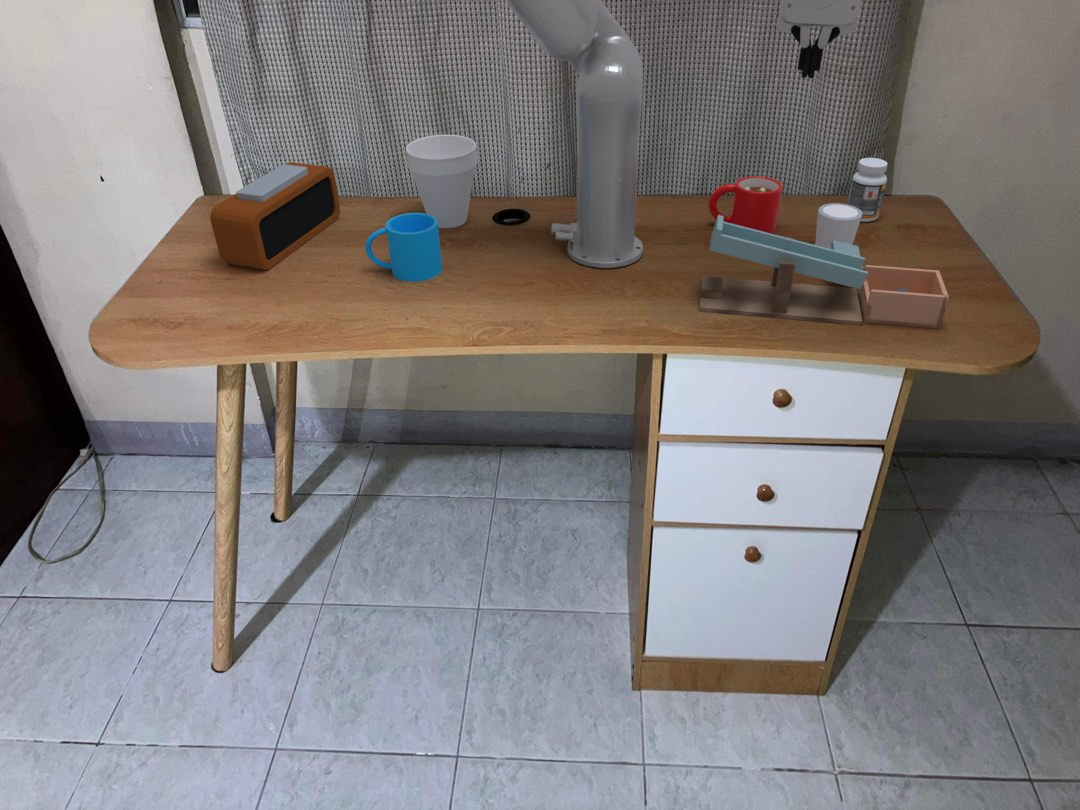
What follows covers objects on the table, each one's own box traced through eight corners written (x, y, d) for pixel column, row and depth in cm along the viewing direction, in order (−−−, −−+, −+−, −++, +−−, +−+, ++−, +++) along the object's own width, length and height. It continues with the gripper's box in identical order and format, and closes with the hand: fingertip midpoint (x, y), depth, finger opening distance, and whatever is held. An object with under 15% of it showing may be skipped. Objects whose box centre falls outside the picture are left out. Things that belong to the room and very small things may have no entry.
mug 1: (443, 258, 139) (439, 211, 134) (441, 281, 132) (436, 233, 127) (372, 260, 138) (364, 214, 134) (365, 283, 132) (357, 236, 127)
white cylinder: (855, 261, 134) (865, 220, 130) (812, 258, 136) (819, 218, 132) (851, 243, 140) (860, 203, 136) (809, 240, 141) (816, 201, 137)
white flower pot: (444, 201, 158) (438, 129, 150) (495, 216, 152) (491, 142, 144) (399, 224, 150) (390, 149, 142) (451, 240, 144) (444, 163, 136)
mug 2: (705, 216, 150) (710, 174, 145) (774, 219, 148) (780, 176, 144) (706, 235, 144) (711, 191, 139) (777, 238, 142) (784, 194, 137)
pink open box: (863, 322, 119) (871, 291, 116) (858, 294, 126) (865, 265, 123) (939, 328, 117) (949, 297, 114) (930, 300, 124) (939, 270, 121)
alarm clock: (264, 275, 135) (248, 209, 128) (222, 267, 138) (204, 202, 131) (342, 217, 153) (332, 157, 146) (304, 211, 156) (292, 152, 149)
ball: (889, 311, 120) (893, 293, 118) (886, 301, 123) (891, 283, 121) (910, 313, 120) (916, 295, 118) (907, 303, 122) (913, 285, 120)
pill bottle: (882, 222, 146) (896, 168, 140) (850, 223, 146) (861, 168, 140) (872, 209, 151) (885, 156, 145) (841, 210, 151) (852, 156, 145)
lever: (709, 252, 119) (716, 230, 117) (713, 215, 129) (720, 194, 127) (863, 292, 118) (874, 271, 115) (855, 252, 128) (865, 231, 126)
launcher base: (698, 310, 123) (704, 259, 118) (702, 279, 130) (707, 229, 125) (861, 325, 118) (874, 272, 114) (855, 291, 126) (867, 240, 121)
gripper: (774, -68, 107) (753, 80, 117) (896, -66, 104) (863, 85, 115) (773, -76, 112) (754, 66, 123) (890, -74, 110) (859, 71, 121)
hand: (807, 75), depth 119 cm, fingers closed
